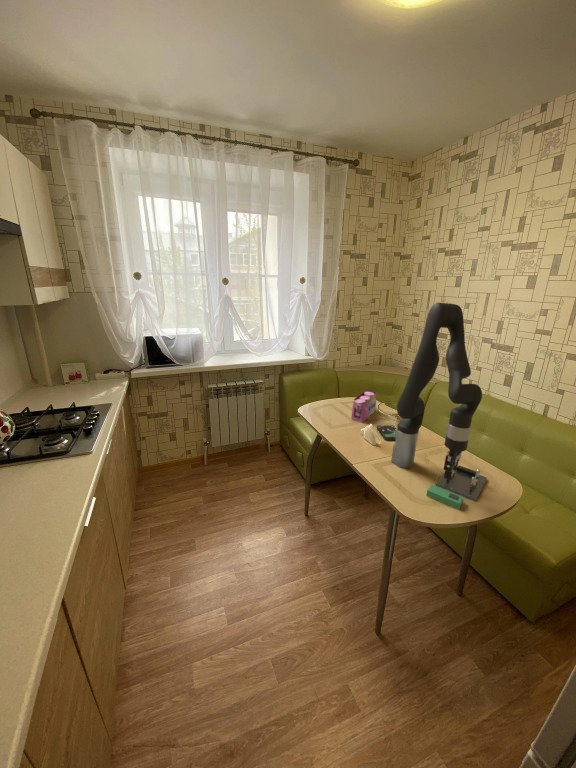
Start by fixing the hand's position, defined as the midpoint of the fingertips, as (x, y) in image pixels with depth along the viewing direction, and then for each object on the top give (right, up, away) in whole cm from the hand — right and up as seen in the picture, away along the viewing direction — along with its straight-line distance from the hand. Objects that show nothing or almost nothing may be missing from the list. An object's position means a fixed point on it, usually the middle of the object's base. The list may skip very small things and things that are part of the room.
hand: (450, 473), depth 121 cm
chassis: (+12, -8, +15) cm, 21 cm away
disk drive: (-5, +5, +57) cm, 58 cm away
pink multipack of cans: (-14, +14, +82) cm, 85 cm away
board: (-1, -11, +4) cm, 12 cm away
